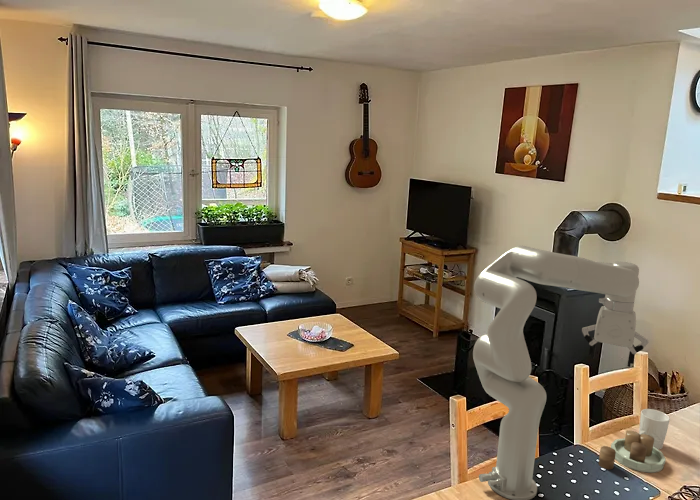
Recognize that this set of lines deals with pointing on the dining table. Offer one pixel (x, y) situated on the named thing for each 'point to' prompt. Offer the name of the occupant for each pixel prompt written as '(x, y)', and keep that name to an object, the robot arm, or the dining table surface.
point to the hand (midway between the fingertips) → (610, 361)
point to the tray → (652, 458)
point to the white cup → (654, 425)
